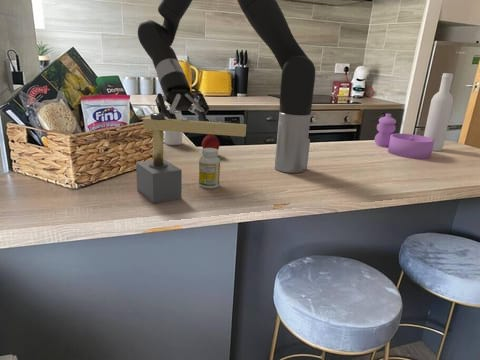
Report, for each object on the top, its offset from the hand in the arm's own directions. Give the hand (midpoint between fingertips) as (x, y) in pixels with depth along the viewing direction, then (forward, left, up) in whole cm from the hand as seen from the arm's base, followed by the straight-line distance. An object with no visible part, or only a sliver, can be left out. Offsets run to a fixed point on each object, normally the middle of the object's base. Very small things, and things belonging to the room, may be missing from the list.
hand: (191, 126), depth 103 cm
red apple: (-16, -16, -14) cm, 26 cm away
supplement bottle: (0, +10, -14) cm, 17 cm away
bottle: (-105, +12, -14) cm, 107 cm away
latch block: (+14, +10, -14) cm, 22 cm away
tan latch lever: (+8, +16, -6) cm, 19 cm away
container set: (-89, +8, -14) cm, 90 cm away
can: (-12, -36, -14) cm, 40 cm away
